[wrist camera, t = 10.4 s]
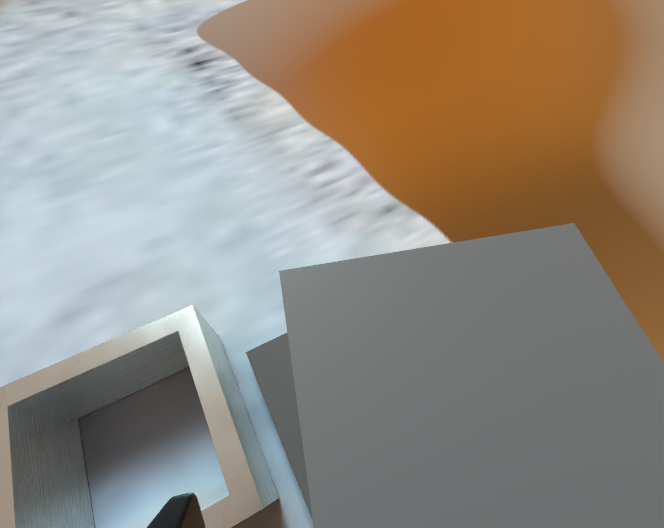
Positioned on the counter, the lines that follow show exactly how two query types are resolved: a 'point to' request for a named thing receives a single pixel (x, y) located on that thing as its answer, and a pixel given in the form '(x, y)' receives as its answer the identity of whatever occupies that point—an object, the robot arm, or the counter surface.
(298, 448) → the rubber mat
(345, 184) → the counter surface
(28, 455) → the socket
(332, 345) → the grey capped orange post
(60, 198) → the counter surface
